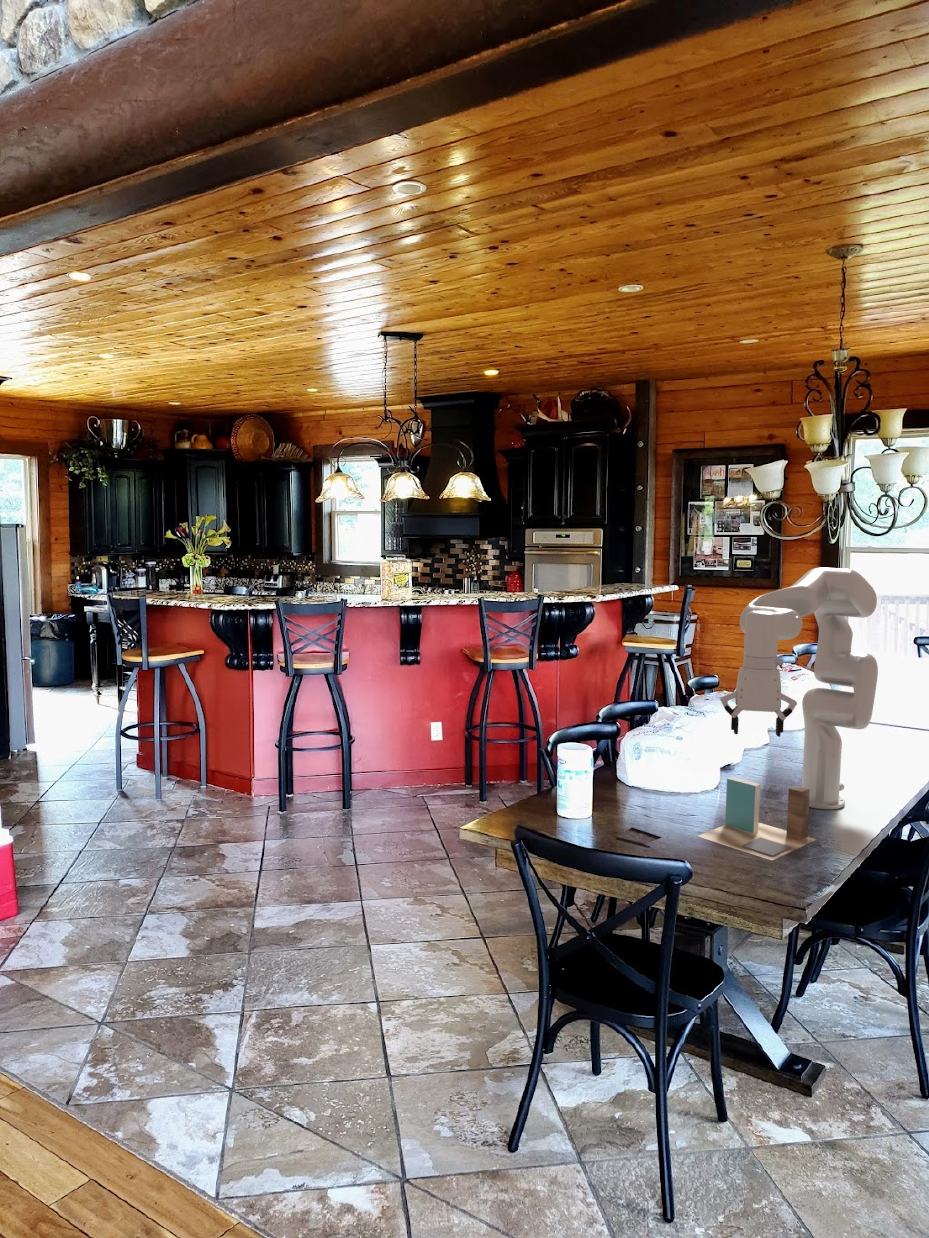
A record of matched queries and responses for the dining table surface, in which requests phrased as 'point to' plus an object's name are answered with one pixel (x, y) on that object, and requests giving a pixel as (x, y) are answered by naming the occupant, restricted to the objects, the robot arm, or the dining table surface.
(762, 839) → the mat
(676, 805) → the dining table surface
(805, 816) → the brown wooden block
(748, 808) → the tile
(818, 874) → the dining table surface
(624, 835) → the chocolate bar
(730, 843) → the board
